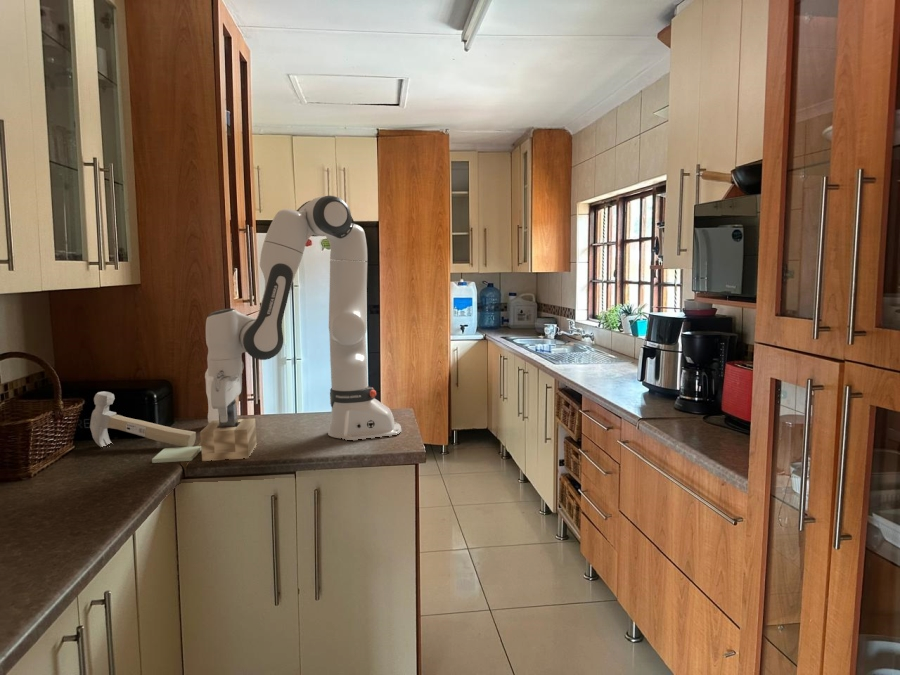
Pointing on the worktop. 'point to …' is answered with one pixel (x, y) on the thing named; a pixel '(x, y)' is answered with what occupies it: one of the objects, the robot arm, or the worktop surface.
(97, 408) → the hammer
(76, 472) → the worktop surface
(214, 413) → the water bottle
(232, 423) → the peg
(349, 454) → the worktop surface
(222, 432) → the socket block
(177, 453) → the pad
